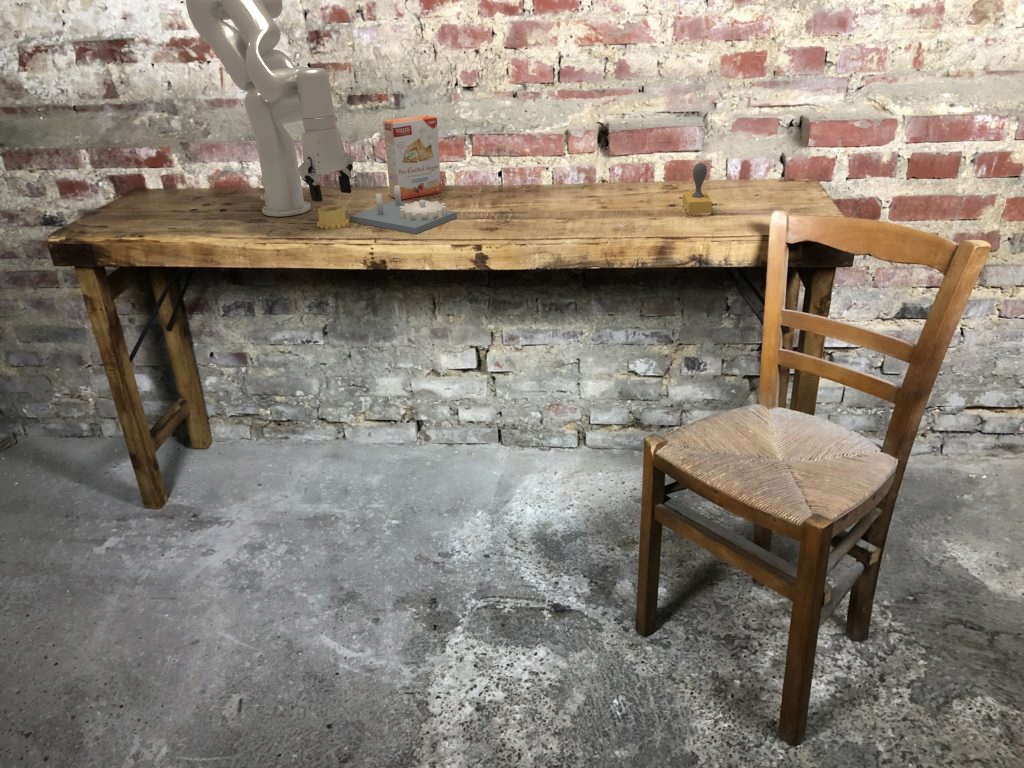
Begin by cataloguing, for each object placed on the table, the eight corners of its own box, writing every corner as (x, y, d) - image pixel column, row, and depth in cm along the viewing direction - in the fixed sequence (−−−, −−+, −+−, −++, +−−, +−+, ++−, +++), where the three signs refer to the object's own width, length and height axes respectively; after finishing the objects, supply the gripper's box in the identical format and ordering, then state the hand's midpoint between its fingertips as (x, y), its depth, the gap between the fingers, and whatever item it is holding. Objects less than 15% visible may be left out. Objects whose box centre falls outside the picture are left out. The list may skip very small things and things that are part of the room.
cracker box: (399, 201, 210) (392, 122, 201) (389, 197, 215) (381, 119, 205) (443, 192, 218) (437, 116, 208) (432, 188, 222) (426, 113, 212)
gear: (310, 226, 191) (308, 210, 189) (334, 218, 197) (331, 203, 195) (332, 230, 187) (330, 214, 185) (356, 222, 193) (354, 207, 191)
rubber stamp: (711, 216, 189) (715, 167, 183) (687, 216, 189) (691, 167, 184) (704, 205, 198) (708, 158, 192) (682, 206, 198) (685, 158, 192)
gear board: (350, 221, 194) (347, 196, 191) (393, 206, 205) (390, 182, 202) (415, 234, 183) (413, 207, 180) (457, 217, 194) (455, 192, 191)
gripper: (335, 118, 189) (346, 188, 196) (280, 129, 176) (294, 203, 184) (357, 119, 185) (367, 190, 192) (302, 130, 172) (316, 206, 180)
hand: (332, 196), depth 188 cm, fingers open, 9 cm apart
